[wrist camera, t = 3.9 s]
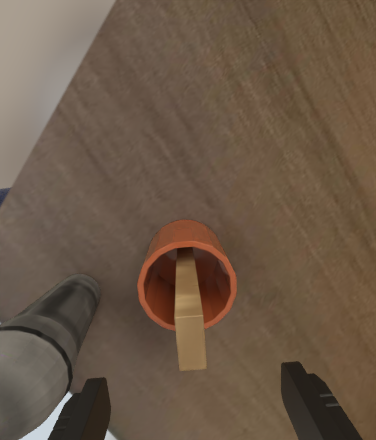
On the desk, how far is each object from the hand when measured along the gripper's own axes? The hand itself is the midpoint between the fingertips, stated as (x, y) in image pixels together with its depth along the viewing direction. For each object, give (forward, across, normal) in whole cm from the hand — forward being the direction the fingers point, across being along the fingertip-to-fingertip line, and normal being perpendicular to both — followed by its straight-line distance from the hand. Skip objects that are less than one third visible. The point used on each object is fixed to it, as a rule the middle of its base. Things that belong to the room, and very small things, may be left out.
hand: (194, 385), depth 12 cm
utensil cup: (+17, 0, 0) cm, 17 cm away
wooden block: (+17, 0, 0) cm, 17 cm away
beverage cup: (+18, +12, +4) cm, 22 cm away
